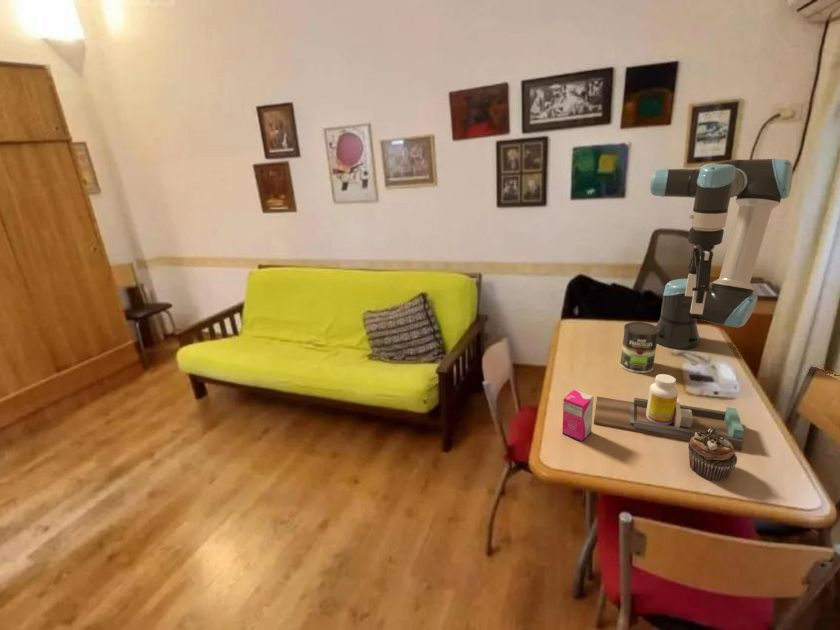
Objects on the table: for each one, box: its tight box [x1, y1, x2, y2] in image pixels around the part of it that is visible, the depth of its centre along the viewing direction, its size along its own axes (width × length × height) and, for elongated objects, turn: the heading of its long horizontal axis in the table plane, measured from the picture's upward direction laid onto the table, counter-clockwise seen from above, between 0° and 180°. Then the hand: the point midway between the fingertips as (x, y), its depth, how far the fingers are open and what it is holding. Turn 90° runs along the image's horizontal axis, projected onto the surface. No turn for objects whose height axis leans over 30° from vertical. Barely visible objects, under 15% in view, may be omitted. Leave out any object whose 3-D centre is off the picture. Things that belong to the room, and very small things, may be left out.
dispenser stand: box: [593, 396, 745, 452], centre depth 119 cm, size 13×34×5 cm, turn 66°
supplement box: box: [561, 389, 594, 443], centre depth 116 cm, size 6×6×12 cm
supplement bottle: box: [646, 373, 679, 425], centre depth 117 cm, size 7×7×13 cm
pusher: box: [673, 396, 693, 428], centre depth 117 cm, size 9×4×5 cm, turn 156°
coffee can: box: [619, 321, 659, 374], centre depth 145 cm, size 10×10×14 cm
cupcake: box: [688, 428, 738, 482], centre depth 101 cm, size 10×10×10 cm
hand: (693, 304), depth 121 cm, fingers open, 13 cm apart
